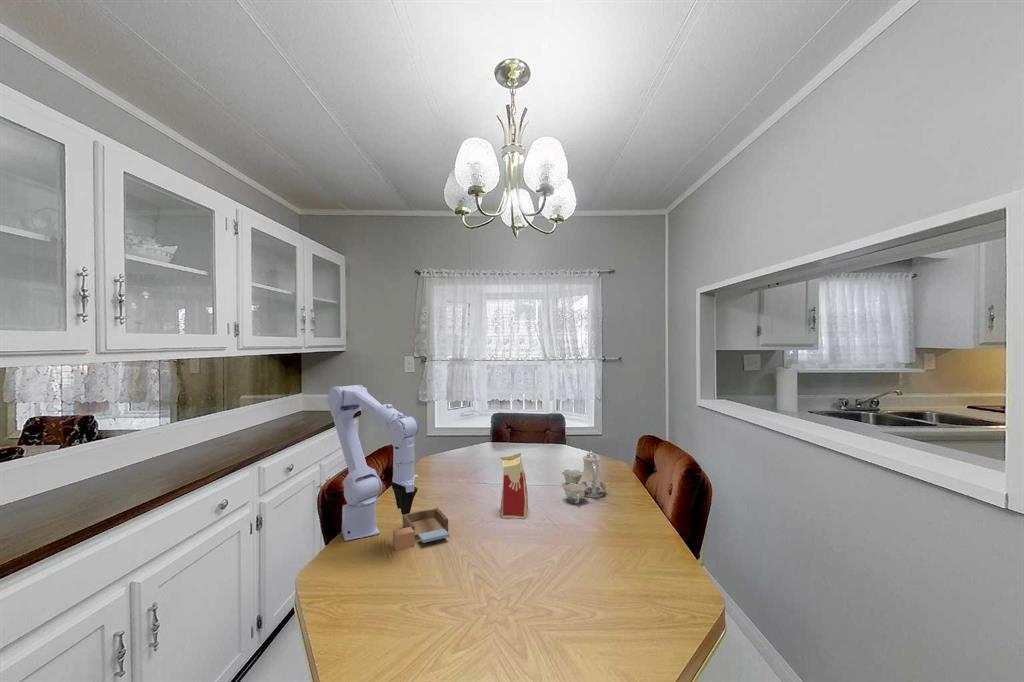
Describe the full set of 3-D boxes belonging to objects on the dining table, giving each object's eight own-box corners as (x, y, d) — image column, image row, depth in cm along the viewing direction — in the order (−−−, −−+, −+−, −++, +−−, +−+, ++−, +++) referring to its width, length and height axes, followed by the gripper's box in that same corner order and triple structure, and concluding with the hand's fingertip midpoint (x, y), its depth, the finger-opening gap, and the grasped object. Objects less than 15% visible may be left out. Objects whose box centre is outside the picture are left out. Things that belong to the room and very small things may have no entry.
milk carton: (528, 508, 138) (527, 449, 139) (526, 519, 129) (526, 456, 130) (501, 507, 139) (501, 448, 140) (498, 518, 130) (497, 455, 130)
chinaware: (559, 485, 167) (554, 445, 167) (599, 481, 166) (594, 441, 167) (567, 512, 139) (561, 463, 139) (615, 507, 138) (610, 458, 139)
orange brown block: (396, 551, 109) (396, 535, 109) (392, 545, 112) (392, 530, 112) (414, 546, 111) (414, 531, 111) (410, 540, 115) (410, 526, 115)
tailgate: (418, 538, 114) (422, 544, 110) (418, 534, 114) (422, 539, 110) (443, 532, 118) (449, 537, 114) (443, 528, 118) (449, 533, 114)
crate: (412, 542, 113) (412, 528, 113) (402, 527, 123) (402, 514, 123) (449, 534, 118) (449, 520, 119) (437, 520, 128) (437, 507, 128)
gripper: (425, 465, 108) (425, 517, 108) (411, 453, 121) (411, 499, 120) (398, 469, 105) (398, 522, 104) (387, 456, 117) (386, 504, 117)
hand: (403, 510), depth 112 cm, fingers open, 4 cm apart
